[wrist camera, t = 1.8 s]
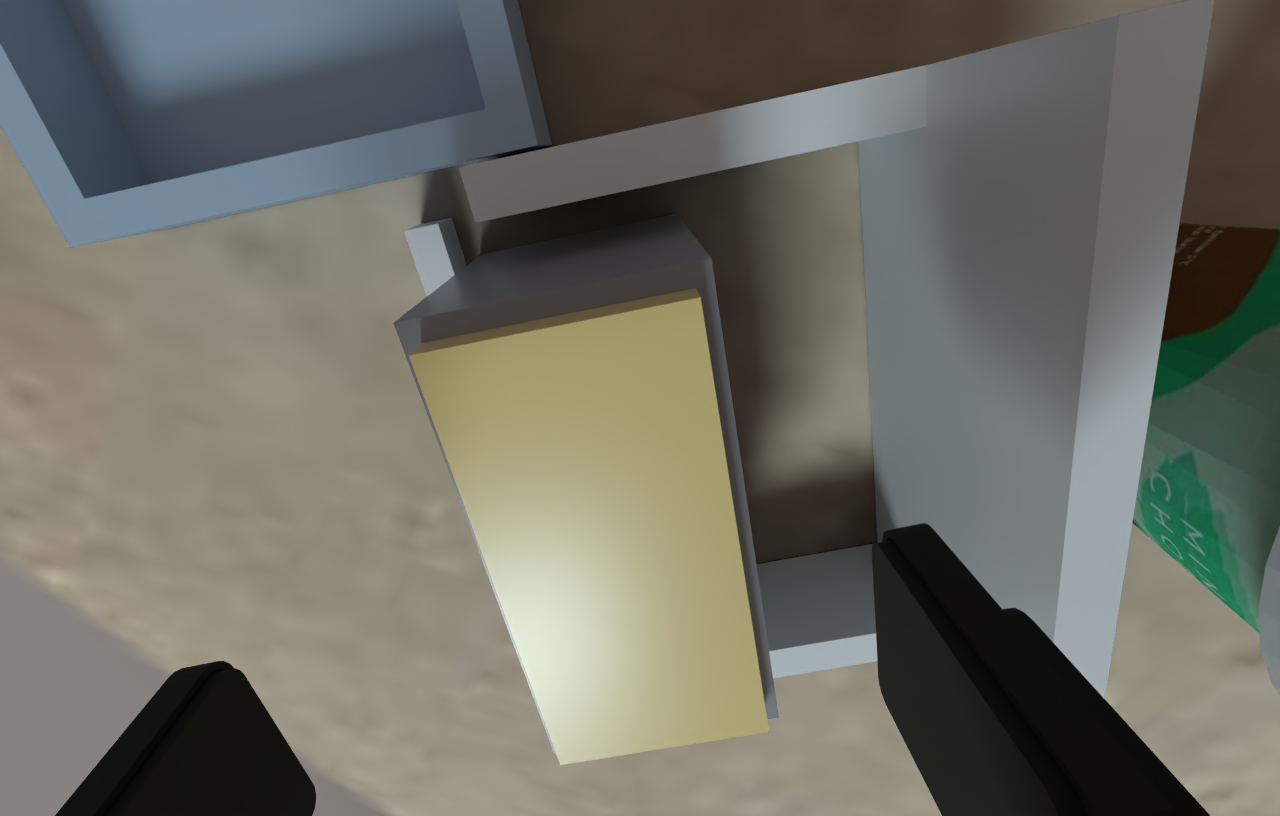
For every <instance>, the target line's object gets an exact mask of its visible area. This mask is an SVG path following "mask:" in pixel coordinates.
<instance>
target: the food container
mask: <svg viewBox="0 0 1280 816" xmlns="http://www.w3.org/2000/svg"><path fill="white" fill-rule="evenodd" d="M1132 523H1133V524H1135V525H1136V526H1137V527H1138V528H1139V529H1140V530H1141V531H1143V532H1144V533H1145V534H1146V535H1147V536H1148V537H1149V538H1151V539H1152V540H1153V541H1154V542H1155V543H1156V544H1157V545H1159V546H1160V547H1161V548H1162V549H1163V550H1164V551H1166V552H1167V553H1168V554H1169V555H1170V556H1171V557H1172V558H1174V559H1175V560H1176V561H1177V562H1178V563H1179V564H1180V565H1182V566H1183V567H1184V568H1185V569H1186V570H1187V571H1188V572H1190V573H1191V574H1192V575H1193V576H1194V577H1195V578H1196V579H1198V580H1199V581H1200V582H1201V583H1202V584H1203V585H1204V586H1206V587H1207V588H1208V589H1209V590H1210V591H1211V592H1212V593H1214V594H1215V595H1216V596H1217V597H1218V598H1219V599H1221V600H1222V601H1223V602H1224V603H1225V604H1226V605H1227V606H1229V607H1230V608H1231V609H1232V610H1233V611H1234V612H1235V613H1237V614H1238V615H1239V616H1240V617H1241V618H1242V619H1243V620H1245V621H1246V622H1247V623H1248V624H1249V625H1250V626H1251V627H1253V628H1254V629H1255V630H1256V631H1257V632H1258V633H1259V634H1260V648H1261V652H1262V655H1263V658H1264V661H1265V664H1266V667H1267V670H1268V673H1269V676H1270V679H1271V682H1272V684H1273V685H1274V687H1275V688H1276V690H1277V691H1278V693H1279V694H1280V230H1278V229H1262V228H1246V227H1230V226H1213V225H1197V224H1181V223H1179V230H1178V236H1177V242H1176V249H1175V255H1174V261H1173V268H1172V274H1171V280H1170V287H1169V293H1168V299H1167V306H1166V312H1165V318H1164V325H1163V331H1162V337H1161V344H1160V350H1159V357H1158V363H1157V369H1156V376H1155V382H1154V388H1153V395H1152V401H1151V407H1150V414H1149V420H1148V426H1147V433H1146V439H1145V445H1144V452H1143V458H1142V464H1141V471H1140V477H1139V484H1138V490H1137V496H1136V503H1135V509H1134V515H1133V522H1132Z"/></svg>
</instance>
